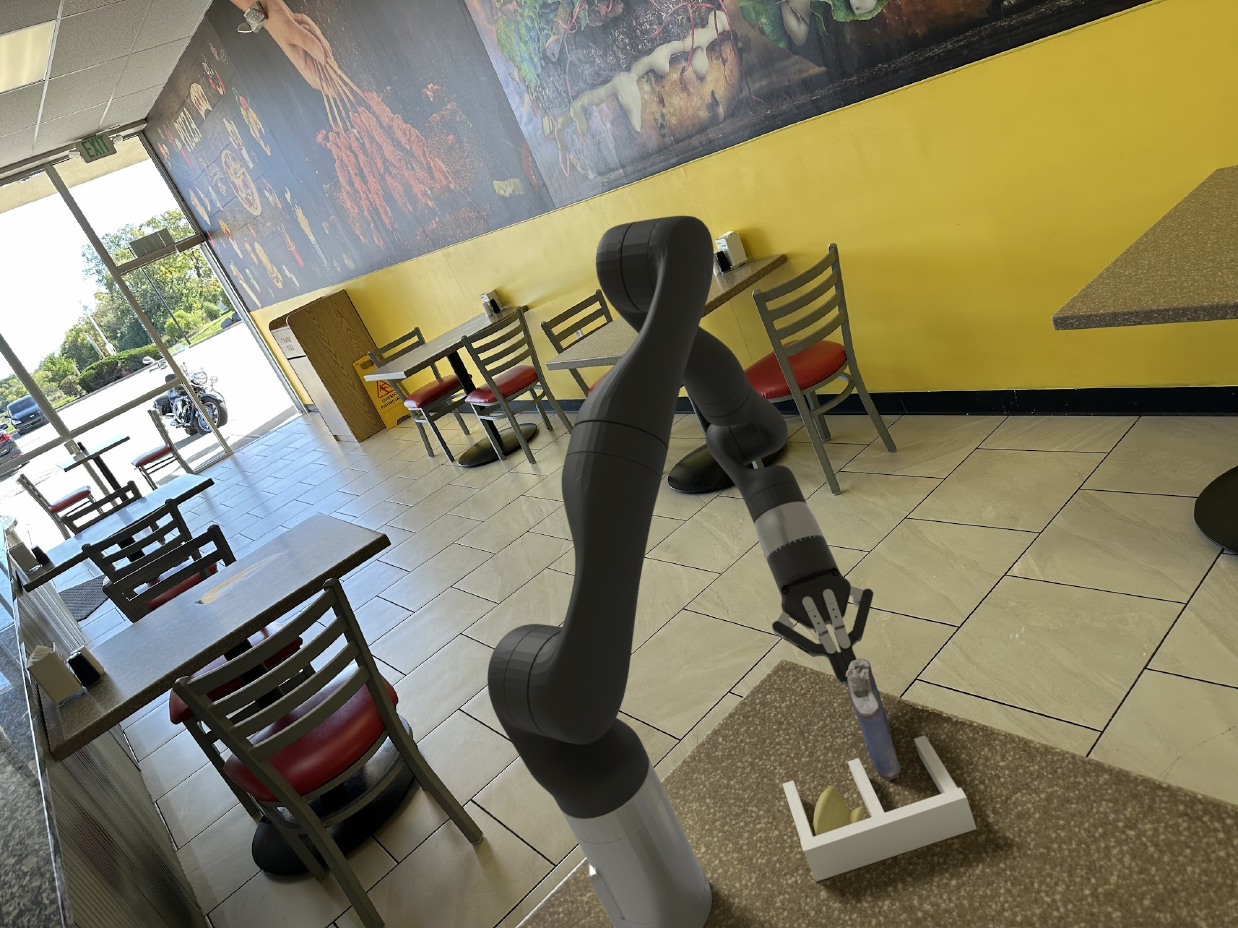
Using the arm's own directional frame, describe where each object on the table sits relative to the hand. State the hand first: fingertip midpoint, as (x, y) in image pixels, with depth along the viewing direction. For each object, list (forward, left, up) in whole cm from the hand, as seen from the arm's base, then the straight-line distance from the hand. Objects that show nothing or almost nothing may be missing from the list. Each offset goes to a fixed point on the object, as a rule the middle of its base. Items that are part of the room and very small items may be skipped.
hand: (853, 684), depth 89 cm
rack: (-4, -13, -5) cm, 15 cm away
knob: (-7, -14, -5) cm, 17 cm away
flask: (0, -5, -5) cm, 8 cm away
